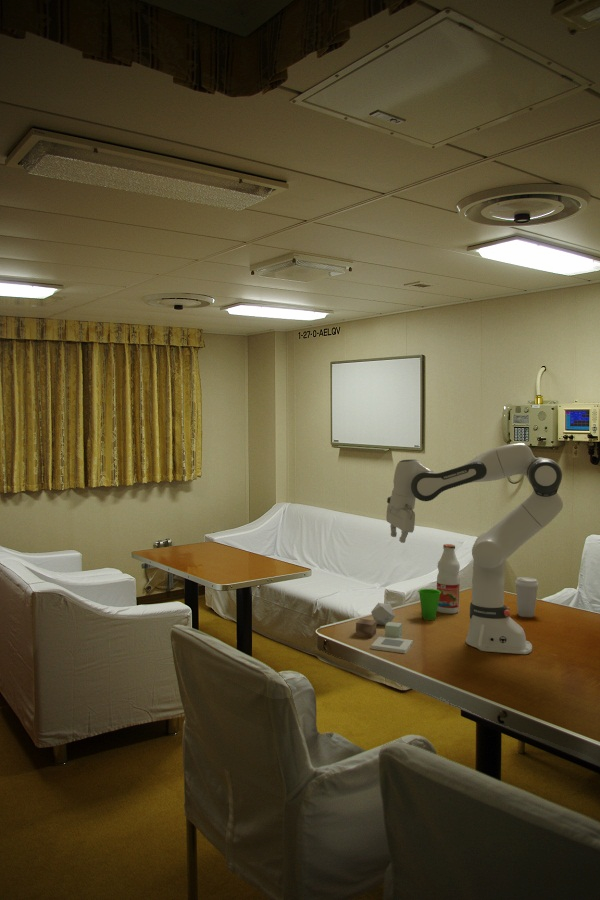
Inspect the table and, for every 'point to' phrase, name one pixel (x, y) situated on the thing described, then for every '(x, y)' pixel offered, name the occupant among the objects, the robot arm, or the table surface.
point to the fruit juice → (448, 581)
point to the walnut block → (366, 628)
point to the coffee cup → (526, 596)
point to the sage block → (393, 630)
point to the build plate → (392, 644)
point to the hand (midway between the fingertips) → (397, 539)
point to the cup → (429, 602)
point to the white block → (383, 613)
